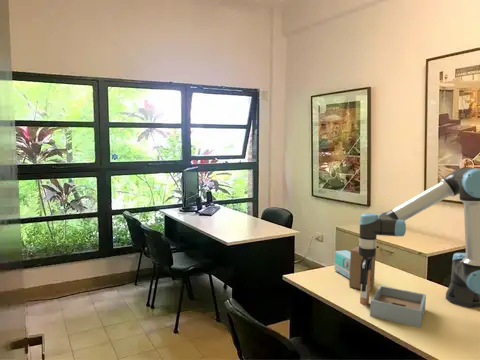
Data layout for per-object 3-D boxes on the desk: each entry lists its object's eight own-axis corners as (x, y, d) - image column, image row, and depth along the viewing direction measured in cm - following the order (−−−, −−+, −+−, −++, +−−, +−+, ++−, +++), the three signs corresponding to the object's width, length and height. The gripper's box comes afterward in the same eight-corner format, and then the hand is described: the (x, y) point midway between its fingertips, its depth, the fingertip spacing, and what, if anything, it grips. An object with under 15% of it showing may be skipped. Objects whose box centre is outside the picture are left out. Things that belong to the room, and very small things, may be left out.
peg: (369, 302, 181) (371, 269, 179) (367, 305, 178) (369, 272, 176) (361, 300, 183) (362, 268, 181) (359, 303, 180) (360, 270, 178)
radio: (332, 271, 223) (333, 237, 221) (346, 269, 226) (347, 236, 224) (347, 281, 208) (349, 244, 206) (362, 279, 211) (364, 243, 209)
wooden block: (356, 281, 208) (357, 245, 205) (374, 286, 201) (376, 249, 199) (348, 286, 200) (350, 249, 198) (367, 292, 194) (369, 253, 191)
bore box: (425, 309, 175) (426, 294, 174) (420, 327, 158) (421, 311, 157) (378, 299, 185) (379, 285, 184) (369, 315, 168) (370, 300, 167)
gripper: (363, 241, 187) (360, 288, 189) (354, 250, 172) (352, 300, 175) (379, 243, 183) (376, 291, 185) (371, 252, 168) (369, 304, 171)
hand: (364, 295), depth 180 cm, fingers closed on peg, 4 cm apart
